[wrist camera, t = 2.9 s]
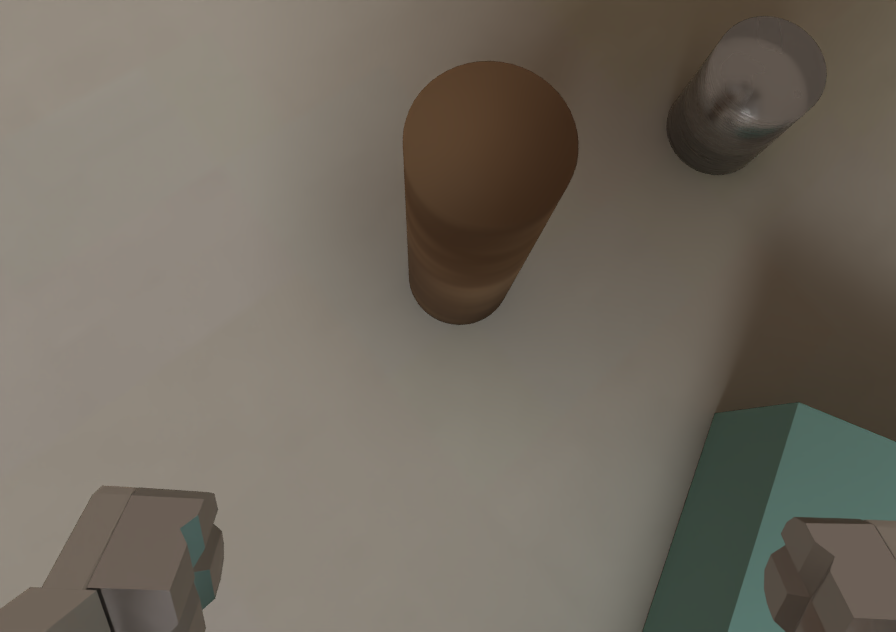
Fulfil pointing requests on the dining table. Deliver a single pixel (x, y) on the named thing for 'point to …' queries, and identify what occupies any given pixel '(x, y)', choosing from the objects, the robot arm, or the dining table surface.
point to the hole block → (763, 509)
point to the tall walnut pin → (481, 183)
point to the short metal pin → (746, 94)
